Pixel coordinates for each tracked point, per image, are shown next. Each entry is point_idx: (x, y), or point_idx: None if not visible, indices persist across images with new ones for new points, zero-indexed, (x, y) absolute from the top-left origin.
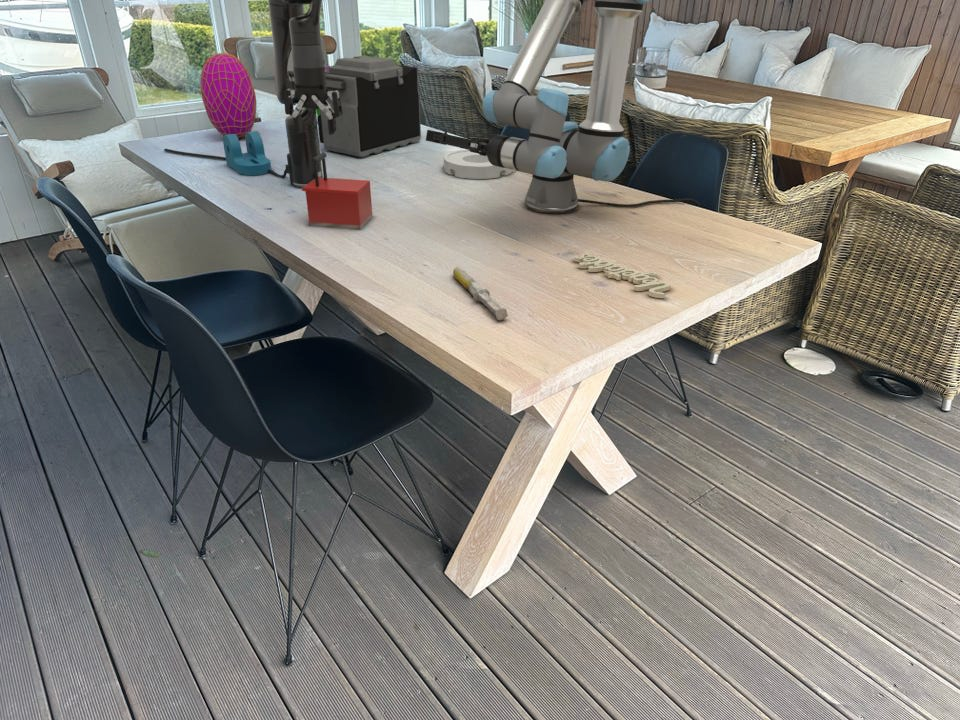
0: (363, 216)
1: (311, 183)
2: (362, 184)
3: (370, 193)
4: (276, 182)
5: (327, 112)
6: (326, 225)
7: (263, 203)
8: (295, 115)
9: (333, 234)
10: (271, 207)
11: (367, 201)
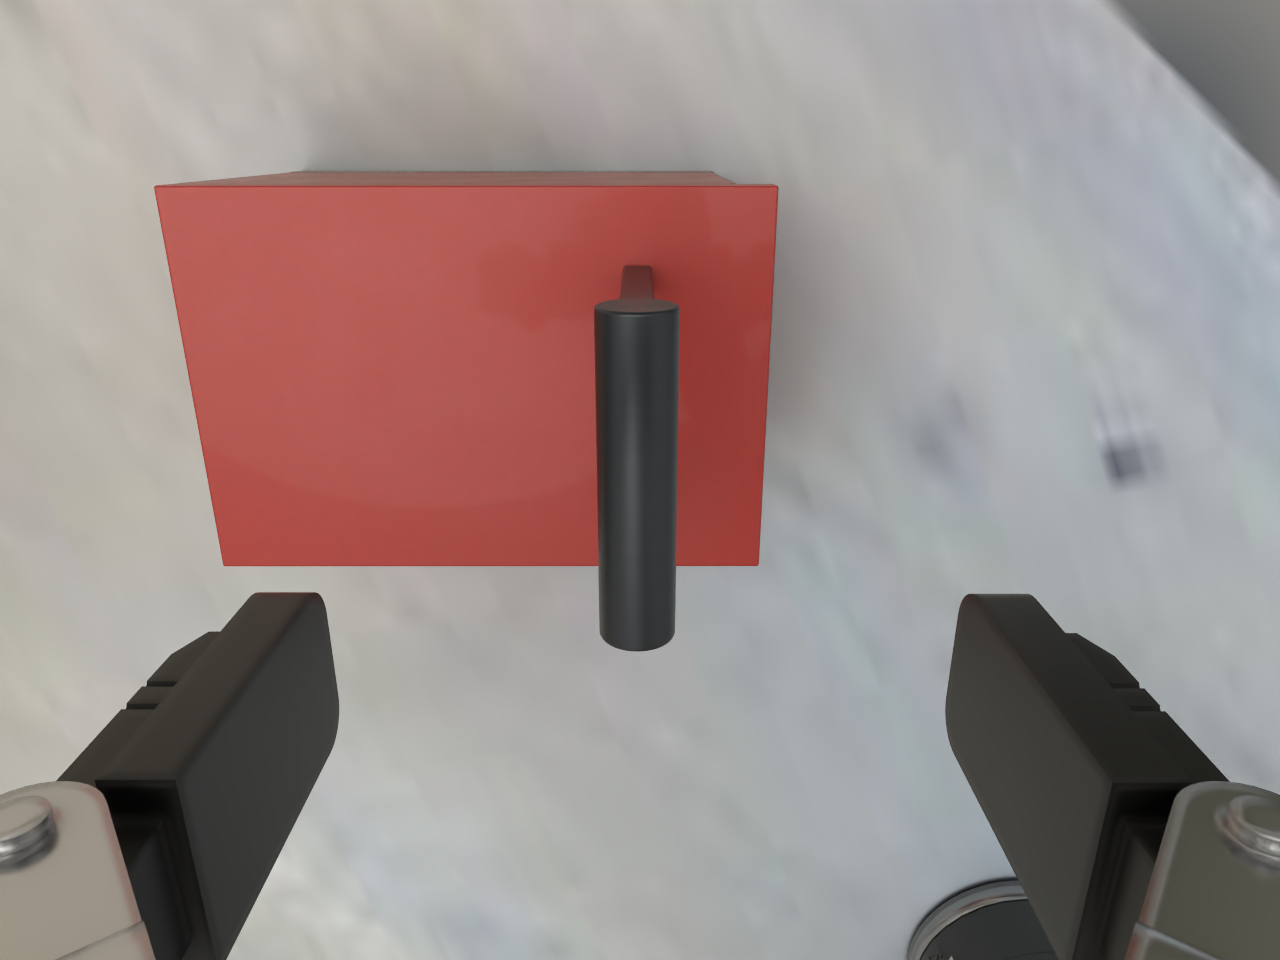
0: None
1: (734, 358)
2: (224, 430)
3: None
4: None
5: (12, 954)
6: (571, 171)
7: (1200, 565)
8: (1222, 828)
9: (454, 15)
10: (1120, 499)
11: None
